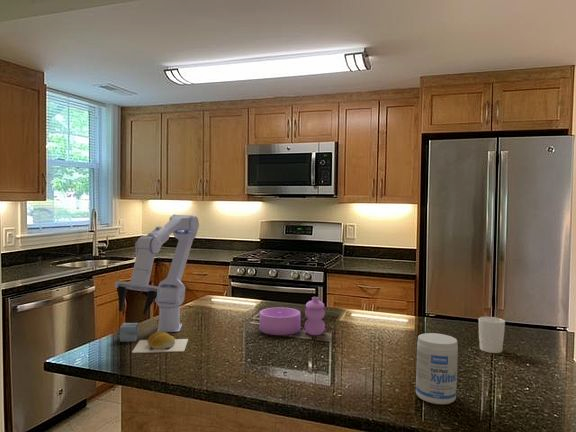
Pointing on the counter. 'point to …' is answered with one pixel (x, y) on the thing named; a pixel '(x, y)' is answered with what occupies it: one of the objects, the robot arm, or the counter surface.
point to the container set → (293, 319)
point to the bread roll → (161, 340)
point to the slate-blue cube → (128, 332)
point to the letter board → (145, 348)
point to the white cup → (491, 334)
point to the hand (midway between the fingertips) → (132, 312)
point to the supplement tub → (436, 368)
